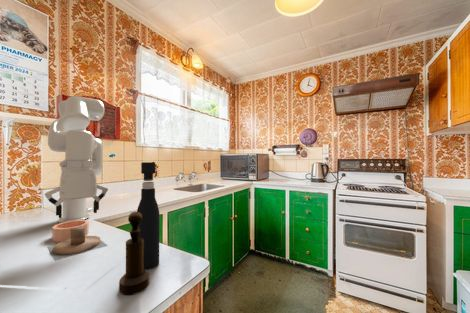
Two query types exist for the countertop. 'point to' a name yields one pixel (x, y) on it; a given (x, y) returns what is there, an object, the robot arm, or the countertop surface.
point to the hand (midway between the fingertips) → (78, 214)
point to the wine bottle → (149, 218)
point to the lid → (76, 243)
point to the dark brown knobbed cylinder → (134, 260)
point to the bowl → (68, 229)
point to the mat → (57, 257)
